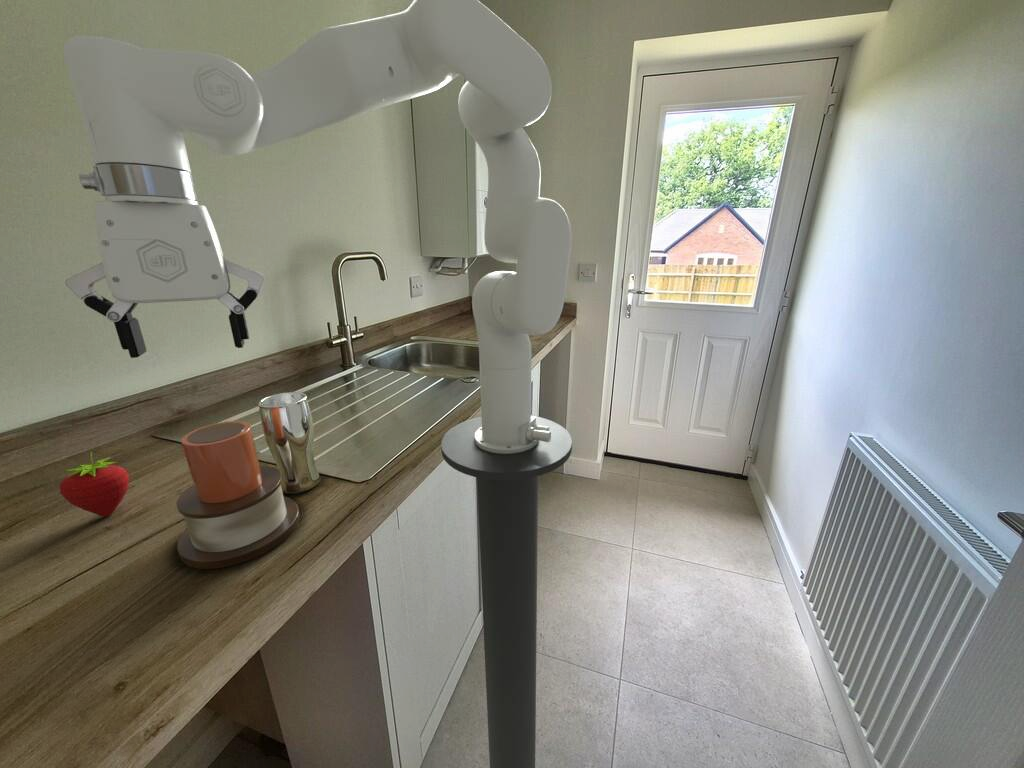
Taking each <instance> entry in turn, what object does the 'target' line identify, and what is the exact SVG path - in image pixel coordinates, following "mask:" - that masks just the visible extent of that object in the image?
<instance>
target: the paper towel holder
mask: <svg viewBox="0 0 1024 768" xmlns="http://www.w3.org/2000/svg"><path fill="white" fill-rule="evenodd" d="M260 469H261V473H262V477H263V481H262V483H261V485H260V486H259V487H258V488H257V489H255V490H254V491H253V492H251V493H249V494H247V495H245V496H243V497H240V498H238V499H235V500H231V501H227V502H222V503H205V502H202V501H200V500H199V498H198V496H197V492H196V489H195V486H194V483H193V484H191V486H189V487H187V488H186V489H185V490H184V491H183V492H181V493H180V495H179V497H178V498H177V500H176V509H177V511H178V513H179V514H181V515H182V517H183V520H184V523H185V527H186V529H185V530H184V531H183V532H182V533H181V535H180V537H179V538H178V540H177V544H176V550H177V553H178V555H179V558H180V560H181V561H182V563H183V564H185V565H187V567H188V566H189V567H190V568H194V569H201V570H214V569H215V570H216V569H222V568H223V569H224V568H229V567H232V566H236V565H239V564H240V565H241V564H242V563H246V562H248V561H250V560H254V559H256V558H258V557H260V556H262V555H264V554H266V553H268V552H269V551H271V550H273V549H274V548H277V547H278V546H279V545H280V544H281V543H283V542H285V540H286V539H287V538H289V536H291V535H292V533H294V531H295V529H296V528H297V527H298V524H299V522H300V520H301V519H300V517H301V515H300V510H299V506H298V504H297V502H296V501H295V500H294V499H292V498H290V497H288V496H285V495H284V493H283V492H282V488H281V482H282V476H281V473H280V472H279V470H278V468H276V467H274V466H269V465H264V464H263V465H261V464H260Z"/></svg>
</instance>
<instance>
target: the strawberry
mask: <svg viewBox="0 0 1024 768" xmlns="http://www.w3.org/2000/svg"><path fill="white" fill-rule="evenodd" d="M89 454H90V464H78V467H73V468H69V469H66V470H65V472H67V473H68V472H73V473H70V474H68V475H67V476H66V477H64V478H63V479H62V480H61V482H60V484H59V493H60V495H61V496H62V497H63V498H65V500H66V501H68V503H69V504H71V505H73V506H75V507H77V508H79V509H82V510H84V511H86V512H89V513H92V514H95V515H97V516H99V517H103V518H105V517H110V516H111V515H113V514H114V513H115V510H116V509H117V507H118V506H119V505H120V504H121V503H122V501H123V499H124V497H125V495H126V493H127V491H128V490H129V487H130V475H129V474H128V472H127V471H126V469H125V468H123V467H120V466H118V465H114V464H117V463H118V461H109V459H111V456H109V457H105V458H103V459H100V460H97V461H95V463H94V464H93V454H92V451H90V452H89Z"/></svg>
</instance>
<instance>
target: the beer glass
mask: <svg viewBox="0 0 1024 768" xmlns="http://www.w3.org/2000/svg"><path fill="white" fill-rule="evenodd" d="M258 409H259V417H260V422H261V428H262V432H263V436H264V439H265V441H266V445H267V446H268V448H269V451H270V453H271V455H272V457H273V460H274V462H275V464H276V467H277V470H279V472H280V473H281V476H282V482H281V488H282V492H283V494H286V495H296V494H301V493H305V492H308V491H310V490H311V489H312V490H313V489H314V488H315V487H316V486H318V484H319V483H320V482H321V475H320V473H319V470H318V468H317V466H316V463H315V455H314V454H315V453H314V447H315V432H314V431H315V430H314V429H315V428H314V427H315V426H314V419H313V415H312V411H311V408H310V404H309V401H308V395H307V394H306V393H304V392H300V391H288V392H279V393H275V394H272V395H268V396H266V397H264V398H262V399H260V400H259V401H258Z"/></svg>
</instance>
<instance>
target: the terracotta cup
mask: <svg viewBox="0 0 1024 768" xmlns="http://www.w3.org/2000/svg"><path fill="white" fill-rule="evenodd" d="M180 441H181V445H182V448H183V452H184V455H185V458H186V462H187V466H188V469H189V472H190V475H191V479H192V482H193V484H194V486H195V489H196V492H197V496H198V498H199V500H200V501H202V502H205V503H222V502H227V501H231V500H235V499H238V498H240V497H243V496H245V495H247V494H249V493H251V492H253V491H254V490H255V489H257V488H258V487H259V486H260V485H261V483H262V481H263V477H262V473H261V469H260V465H261V464H260V460H259V456H258V453H257V448H256V443H255V440H254V435H253V431H252V427H251V424H250V423H248V422H246V421H241V420H232V421H230V420H229V421H222V422H216V423H212V424H209V425H204V426H200V427H198V428H196V429H193V430H192V431H189V432H188V433H186V434H185V435H184V436H183V437H182V438H181V440H180Z"/></svg>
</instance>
